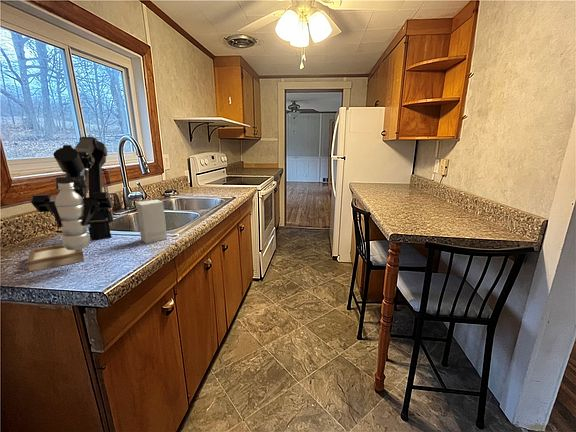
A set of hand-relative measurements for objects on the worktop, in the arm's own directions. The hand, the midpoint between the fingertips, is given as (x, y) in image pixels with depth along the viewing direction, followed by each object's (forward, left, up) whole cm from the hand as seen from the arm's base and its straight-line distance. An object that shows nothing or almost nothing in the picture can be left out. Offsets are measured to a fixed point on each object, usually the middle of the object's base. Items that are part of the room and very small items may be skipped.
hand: (71, 226), depth 79 cm
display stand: (+5, -12, -13) cm, 19 cm away
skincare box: (-24, -15, -13) cm, 32 cm away
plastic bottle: (0, -1, -8) cm, 8 cm away
